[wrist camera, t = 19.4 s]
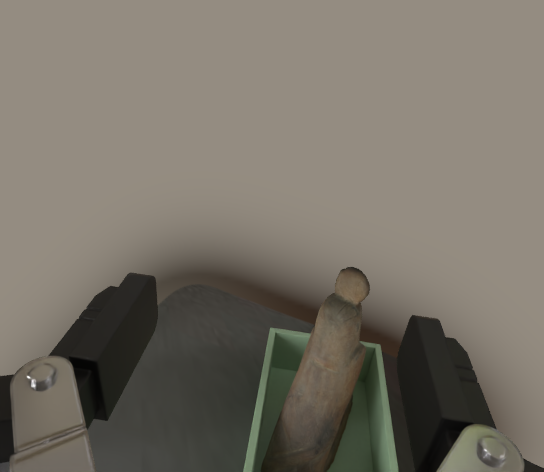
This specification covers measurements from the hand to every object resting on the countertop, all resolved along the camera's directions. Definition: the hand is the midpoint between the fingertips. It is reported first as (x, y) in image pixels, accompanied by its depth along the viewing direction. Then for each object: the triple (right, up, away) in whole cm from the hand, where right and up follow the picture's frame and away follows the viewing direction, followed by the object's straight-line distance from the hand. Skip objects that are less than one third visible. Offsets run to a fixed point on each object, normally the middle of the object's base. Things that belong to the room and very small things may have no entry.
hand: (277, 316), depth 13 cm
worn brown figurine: (+3, -16, +25) cm, 29 cm away
